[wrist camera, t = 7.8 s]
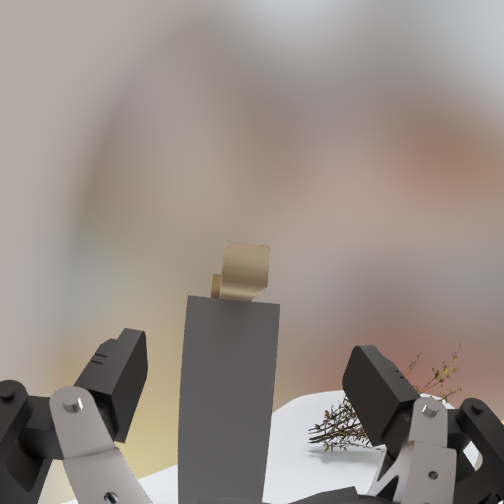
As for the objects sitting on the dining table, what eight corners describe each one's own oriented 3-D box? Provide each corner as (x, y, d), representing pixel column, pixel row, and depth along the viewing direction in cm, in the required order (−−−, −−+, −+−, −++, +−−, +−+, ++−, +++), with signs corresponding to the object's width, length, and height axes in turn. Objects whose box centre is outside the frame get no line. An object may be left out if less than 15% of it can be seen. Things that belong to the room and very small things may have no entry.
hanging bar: (282, 287, 16) (285, 231, 17) (205, 280, 16) (212, 223, 16) (247, 310, 33) (249, 282, 34) (210, 306, 33) (213, 278, 34)
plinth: (251, 569, 15) (280, 304, 24) (182, 566, 14) (188, 295, 23) (244, 536, 22) (264, 310, 32) (186, 533, 21) (194, 304, 31)
